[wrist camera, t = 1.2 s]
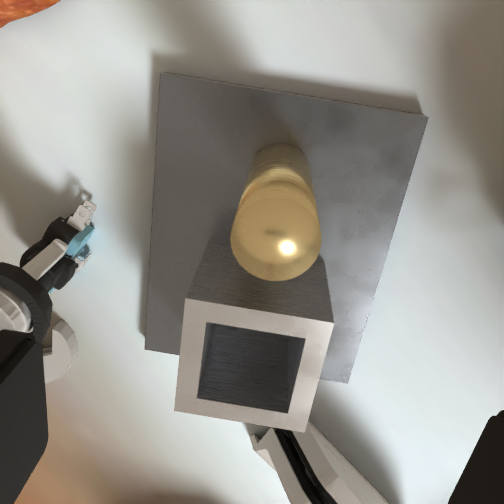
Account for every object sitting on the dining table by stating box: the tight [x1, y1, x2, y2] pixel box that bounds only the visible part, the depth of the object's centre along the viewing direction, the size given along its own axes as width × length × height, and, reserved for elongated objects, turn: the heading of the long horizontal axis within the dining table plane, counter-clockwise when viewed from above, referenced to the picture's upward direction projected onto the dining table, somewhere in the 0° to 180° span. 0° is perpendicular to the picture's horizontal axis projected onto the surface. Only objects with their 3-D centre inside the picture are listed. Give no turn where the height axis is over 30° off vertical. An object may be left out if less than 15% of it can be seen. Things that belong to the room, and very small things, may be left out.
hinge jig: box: [145, 72, 429, 433], centre depth 26 cm, size 15×19×8 cm
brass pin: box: [230, 144, 321, 281], centre depth 23 cm, size 4×4×10 cm
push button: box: [0, 200, 96, 343], centre depth 27 cm, size 7×5×10 cm
